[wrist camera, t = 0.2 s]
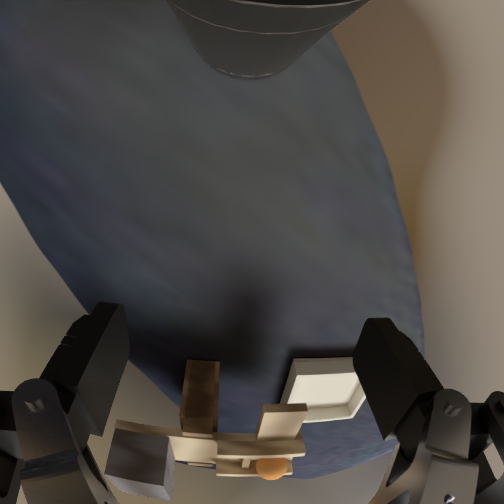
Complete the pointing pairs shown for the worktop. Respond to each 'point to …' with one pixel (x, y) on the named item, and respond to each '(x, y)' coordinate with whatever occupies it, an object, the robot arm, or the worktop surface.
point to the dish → (324, 388)
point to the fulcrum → (200, 401)
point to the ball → (271, 467)
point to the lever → (200, 450)
